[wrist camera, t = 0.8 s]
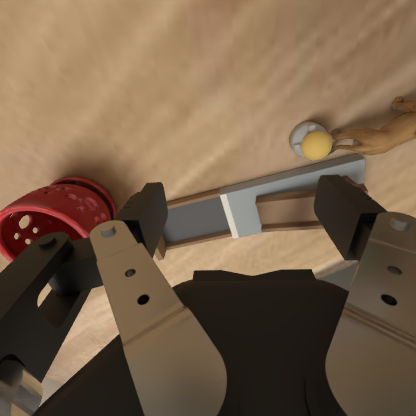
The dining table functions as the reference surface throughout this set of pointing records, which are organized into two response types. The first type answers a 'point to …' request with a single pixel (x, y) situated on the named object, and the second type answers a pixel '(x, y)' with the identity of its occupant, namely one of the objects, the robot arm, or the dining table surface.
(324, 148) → the ball
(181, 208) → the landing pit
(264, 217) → the ramp
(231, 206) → the deck
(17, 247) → the plant pot
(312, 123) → the grey dome cap
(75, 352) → the dining table surface
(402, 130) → the lion figurine
